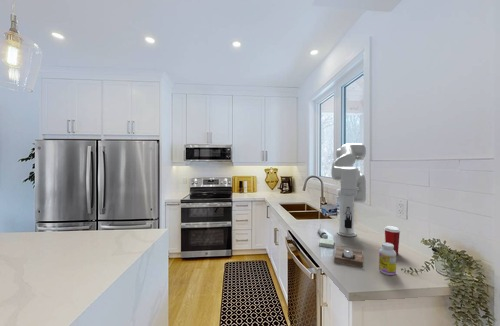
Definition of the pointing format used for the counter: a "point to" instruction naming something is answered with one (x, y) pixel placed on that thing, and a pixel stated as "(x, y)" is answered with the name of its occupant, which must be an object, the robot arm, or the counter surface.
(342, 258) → the walnut flange plate
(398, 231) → the paper cup
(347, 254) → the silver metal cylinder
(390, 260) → the supplement bottle
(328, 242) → the tab
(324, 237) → the torpedo
